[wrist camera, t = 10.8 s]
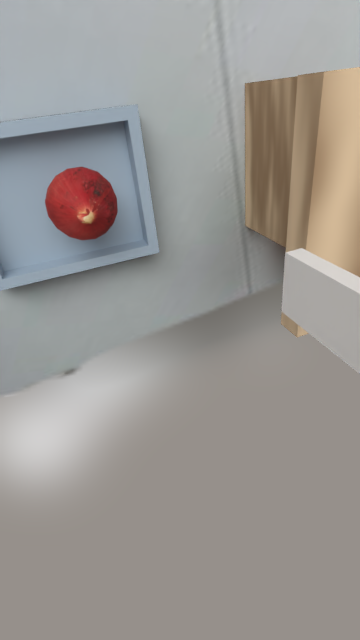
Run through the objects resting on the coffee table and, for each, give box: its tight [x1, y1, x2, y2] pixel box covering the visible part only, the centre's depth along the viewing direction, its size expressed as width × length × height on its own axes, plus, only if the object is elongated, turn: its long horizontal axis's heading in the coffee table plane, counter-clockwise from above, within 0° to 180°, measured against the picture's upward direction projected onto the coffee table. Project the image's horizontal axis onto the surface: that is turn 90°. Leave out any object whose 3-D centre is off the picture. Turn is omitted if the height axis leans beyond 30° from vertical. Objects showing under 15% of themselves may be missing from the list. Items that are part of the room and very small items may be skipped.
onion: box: [45, 167, 118, 240], centre depth 29 cm, size 6×6×8 cm
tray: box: [0, 104, 159, 291], centre depth 31 cm, size 16×13×3 cm
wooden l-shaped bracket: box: [245, 67, 360, 337], centre depth 28 cm, size 9×14×21 cm, turn 7°
